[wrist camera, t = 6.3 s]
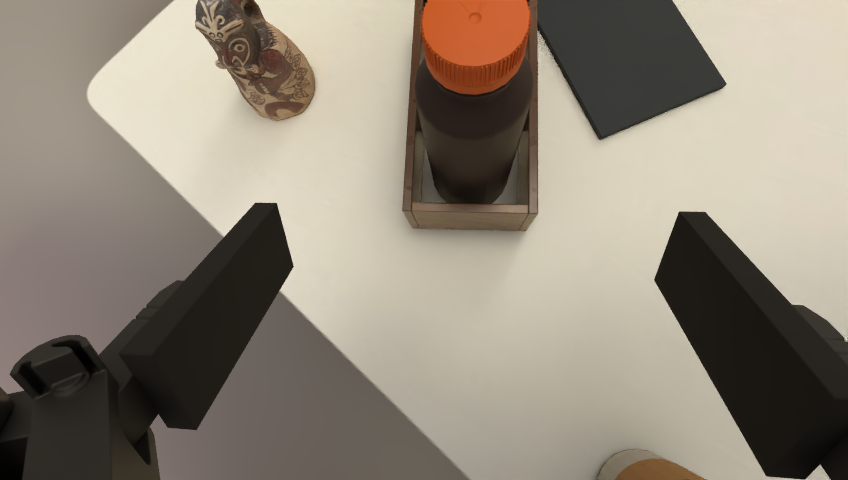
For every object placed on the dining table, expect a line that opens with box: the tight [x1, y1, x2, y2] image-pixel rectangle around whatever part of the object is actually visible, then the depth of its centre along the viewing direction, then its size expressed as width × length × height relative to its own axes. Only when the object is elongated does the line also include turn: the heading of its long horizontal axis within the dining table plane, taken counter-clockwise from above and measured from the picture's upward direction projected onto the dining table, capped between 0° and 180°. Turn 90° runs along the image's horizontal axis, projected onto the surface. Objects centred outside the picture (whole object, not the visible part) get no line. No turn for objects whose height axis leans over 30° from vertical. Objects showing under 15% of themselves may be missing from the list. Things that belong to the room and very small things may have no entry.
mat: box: [537, 0, 726, 139], centre depth 39 cm, size 20×12×1 cm, turn 22°
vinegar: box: [414, 0, 534, 204], centre depth 28 cm, size 7×7×20 cm
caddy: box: [402, 0, 538, 231], centre depth 35 cm, size 10×20×6 cm, turn 177°
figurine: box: [195, 0, 315, 121], centre depth 35 cm, size 7×7×12 cm
